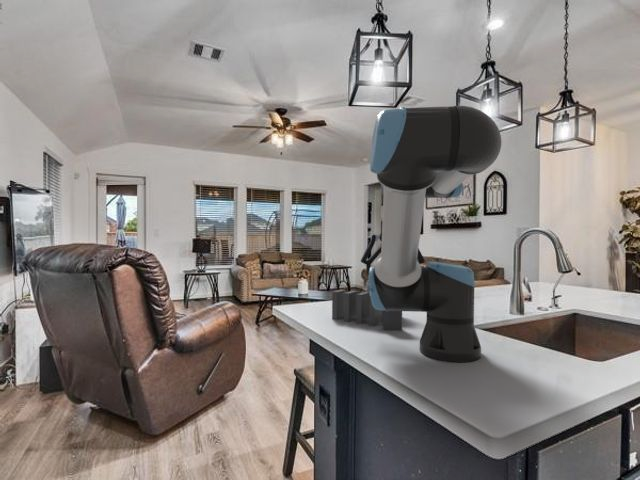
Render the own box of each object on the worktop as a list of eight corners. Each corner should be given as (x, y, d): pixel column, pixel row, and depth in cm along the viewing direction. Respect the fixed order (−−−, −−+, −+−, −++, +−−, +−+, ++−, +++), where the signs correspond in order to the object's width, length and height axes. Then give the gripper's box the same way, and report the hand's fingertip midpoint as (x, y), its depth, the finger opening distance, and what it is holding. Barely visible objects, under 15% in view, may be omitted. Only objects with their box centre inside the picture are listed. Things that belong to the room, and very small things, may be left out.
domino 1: (345, 316, 136) (345, 289, 135) (336, 319, 131) (336, 292, 131) (341, 316, 137) (341, 289, 137) (332, 319, 132) (332, 291, 132)
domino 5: (402, 330, 117) (402, 299, 117) (383, 330, 117) (383, 299, 117) (400, 328, 119) (400, 297, 119) (382, 328, 119) (382, 298, 119)
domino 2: (357, 318, 133) (357, 291, 133) (348, 321, 128) (348, 293, 128) (352, 317, 134) (352, 290, 134) (343, 321, 129) (344, 292, 129)
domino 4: (382, 322, 127) (382, 293, 127) (374, 326, 122) (374, 296, 122) (377, 321, 128) (377, 293, 128) (369, 325, 123) (369, 295, 123)
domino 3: (369, 320, 130) (369, 292, 130) (361, 324, 125) (361, 294, 125) (364, 319, 131) (364, 291, 131) (356, 323, 126) (356, 294, 126)
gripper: (427, 219, 121) (426, 283, 122) (352, 219, 121) (352, 283, 122) (435, 219, 114) (434, 286, 115) (355, 219, 113) (355, 287, 114)
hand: (392, 285), depth 118 cm, fingers open, 13 cm apart
